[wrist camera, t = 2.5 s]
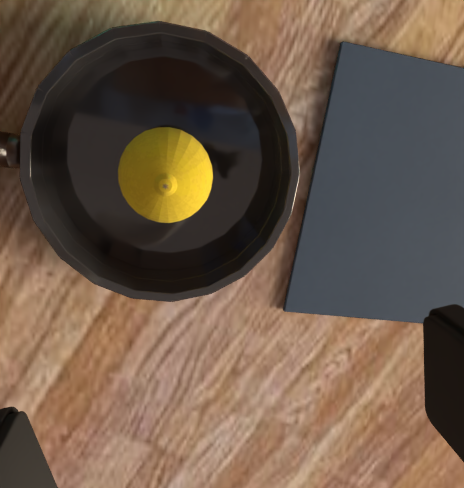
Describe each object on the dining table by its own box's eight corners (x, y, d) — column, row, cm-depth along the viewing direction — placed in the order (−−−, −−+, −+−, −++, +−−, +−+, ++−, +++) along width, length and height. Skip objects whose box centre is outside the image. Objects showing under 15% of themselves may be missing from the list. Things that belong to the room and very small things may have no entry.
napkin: (282, 309, 33) (284, 311, 32) (340, 42, 27) (342, 41, 27) (455, 324, 36) (458, 326, 35) (538, 85, 30) (543, 85, 30)
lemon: (111, 182, 28) (89, 206, 20) (150, 109, 26) (141, 105, 19) (182, 220, 29) (187, 256, 21) (221, 153, 28) (240, 165, 20)
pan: (40, 263, 29) (17, 288, 25) (48, 13, 24) (22, -9, 20) (258, 285, 32) (272, 310, 27) (301, 65, 27) (324, 55, 23)
